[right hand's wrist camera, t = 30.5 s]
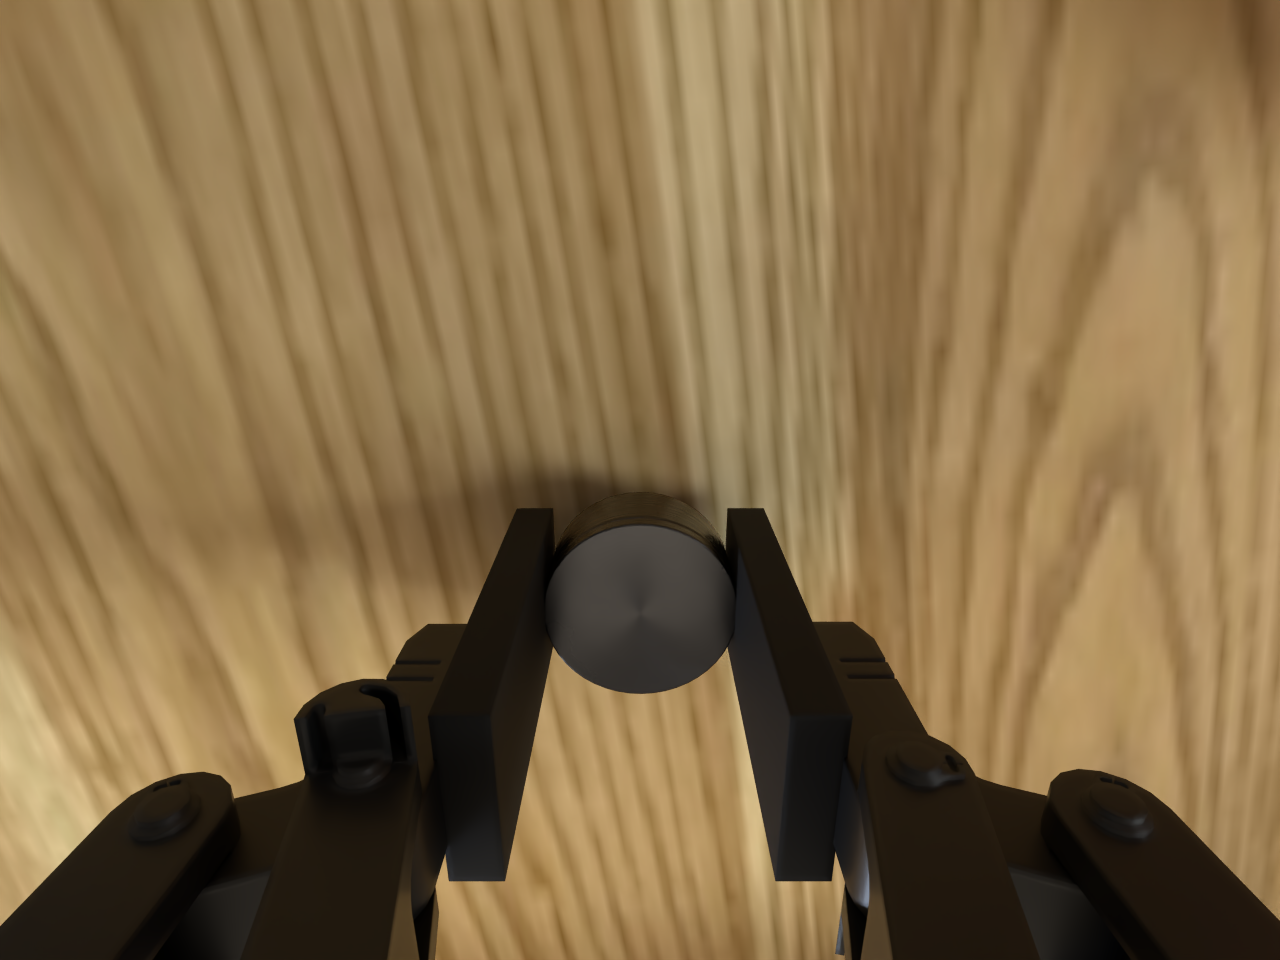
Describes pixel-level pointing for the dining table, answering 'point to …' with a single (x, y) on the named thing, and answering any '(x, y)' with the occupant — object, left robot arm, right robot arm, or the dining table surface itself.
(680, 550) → the cap
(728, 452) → the dining table surface
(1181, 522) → the dining table surface
